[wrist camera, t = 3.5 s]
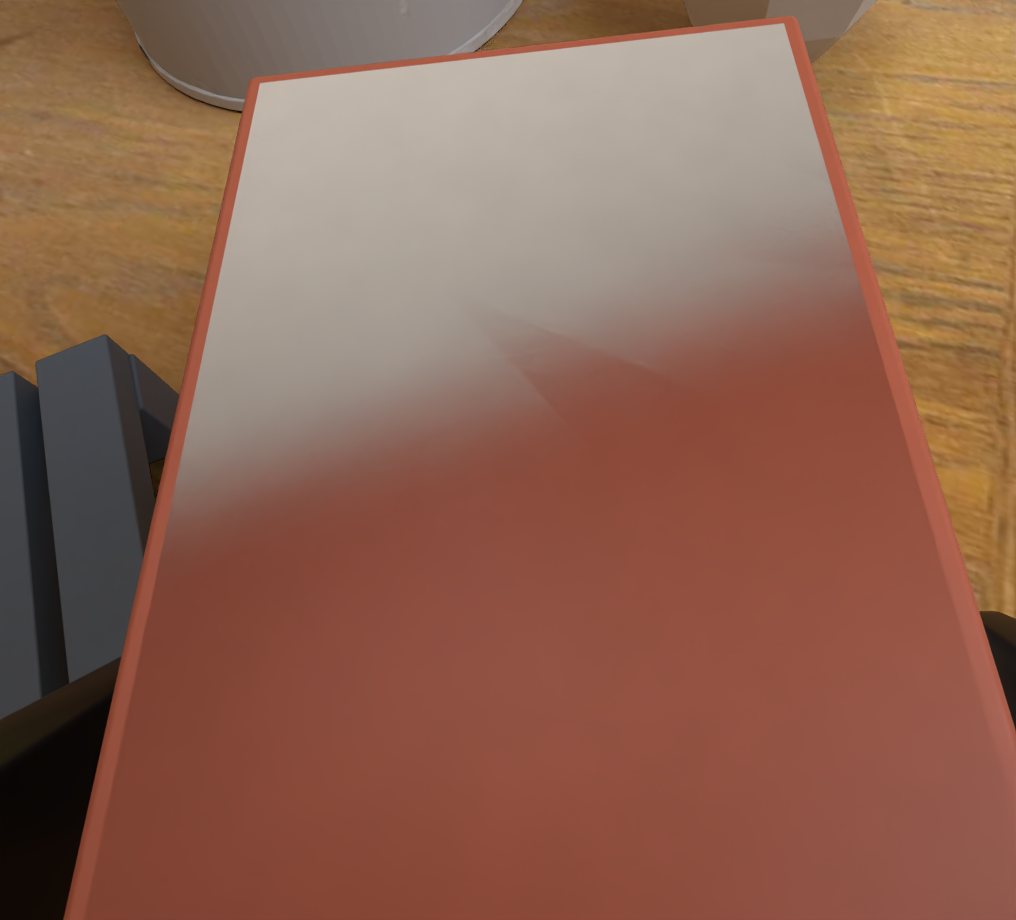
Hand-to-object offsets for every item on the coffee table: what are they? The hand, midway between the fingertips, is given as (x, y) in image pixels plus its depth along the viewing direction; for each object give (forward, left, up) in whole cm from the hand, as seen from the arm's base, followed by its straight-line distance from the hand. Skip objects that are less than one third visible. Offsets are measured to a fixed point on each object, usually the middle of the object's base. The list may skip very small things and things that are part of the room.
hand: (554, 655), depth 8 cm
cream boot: (+4, +3, -9) cm, 10 cm away
